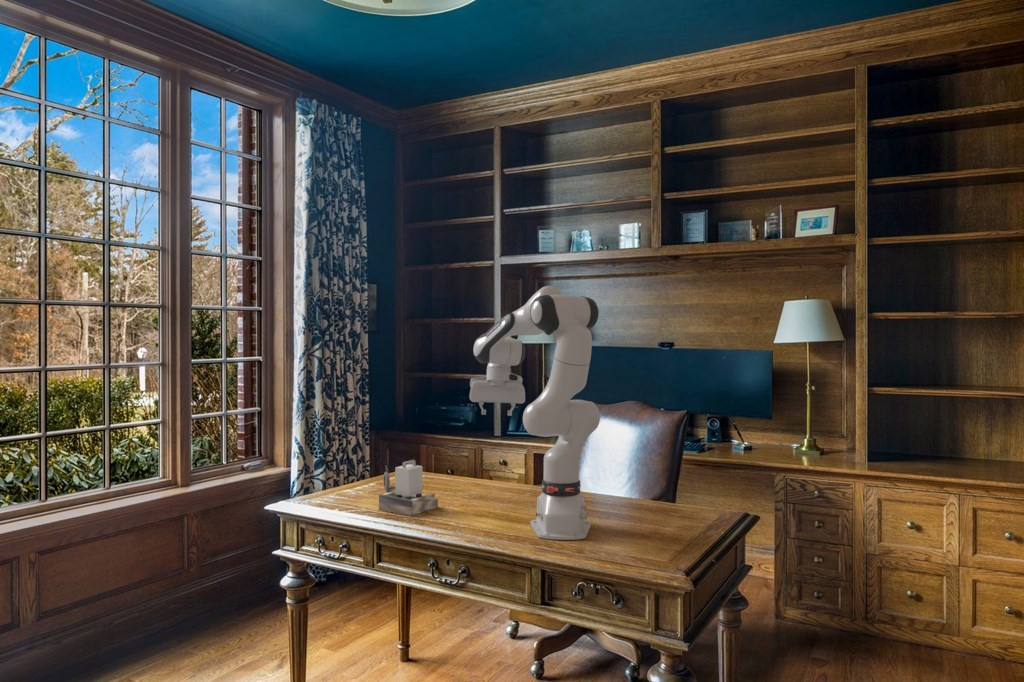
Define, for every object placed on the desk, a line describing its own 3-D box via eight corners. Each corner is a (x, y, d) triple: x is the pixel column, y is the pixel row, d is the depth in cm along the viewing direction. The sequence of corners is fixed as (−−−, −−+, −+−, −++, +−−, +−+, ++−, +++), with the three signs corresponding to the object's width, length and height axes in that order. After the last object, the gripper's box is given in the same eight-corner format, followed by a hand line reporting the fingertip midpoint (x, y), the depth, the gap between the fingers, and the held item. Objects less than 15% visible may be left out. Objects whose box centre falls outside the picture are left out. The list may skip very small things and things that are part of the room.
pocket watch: (408, 490, 257) (408, 464, 257) (392, 495, 250) (392, 468, 250) (392, 487, 262) (392, 461, 262) (376, 492, 255) (376, 465, 255)
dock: (406, 501, 241) (406, 487, 241) (437, 507, 233) (437, 492, 233) (378, 510, 229) (378, 495, 229) (410, 516, 222) (410, 501, 222)
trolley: (408, 495, 236) (409, 458, 236) (423, 498, 233) (423, 460, 232) (394, 500, 230) (394, 461, 230) (408, 502, 227) (409, 463, 226)
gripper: (468, 375, 248) (466, 413, 245) (525, 376, 246) (523, 415, 243) (471, 377, 254) (469, 414, 251) (526, 379, 252) (525, 416, 249)
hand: (496, 415), depth 247 cm, fingers open, 8 cm apart
